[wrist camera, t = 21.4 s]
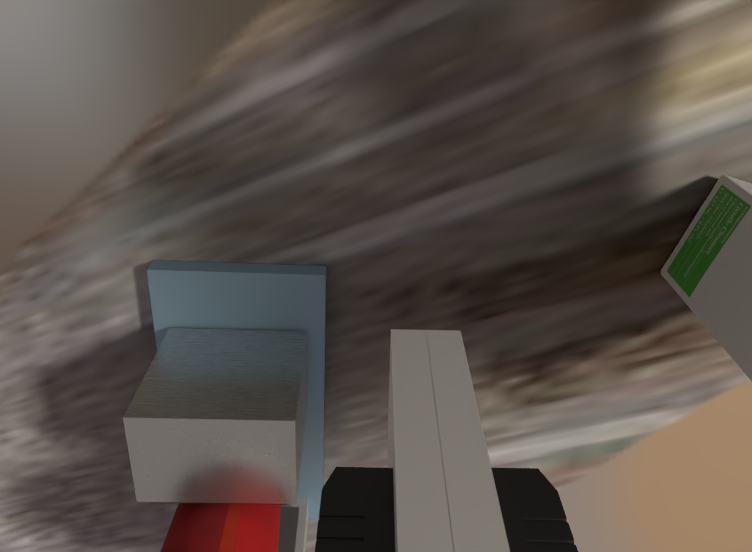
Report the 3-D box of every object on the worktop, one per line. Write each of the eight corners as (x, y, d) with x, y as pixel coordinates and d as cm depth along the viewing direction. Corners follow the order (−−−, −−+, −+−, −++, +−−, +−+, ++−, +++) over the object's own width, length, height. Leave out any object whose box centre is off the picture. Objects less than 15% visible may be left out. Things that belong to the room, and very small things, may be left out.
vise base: (326, 265, 44) (317, 357, 33) (323, 505, 54) (314, 633, 43) (153, 260, 43) (88, 351, 33) (182, 503, 53) (140, 632, 43)
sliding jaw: (307, 331, 44) (295, 421, 35) (307, 410, 47) (296, 511, 38) (169, 327, 43) (122, 417, 35) (179, 408, 46) (137, 509, 38)
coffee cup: (187, 470, 50) (127, 665, 37) (195, 391, 46) (131, 578, 33) (291, 484, 51) (269, 678, 38) (308, 408, 47) (290, 595, 34)
